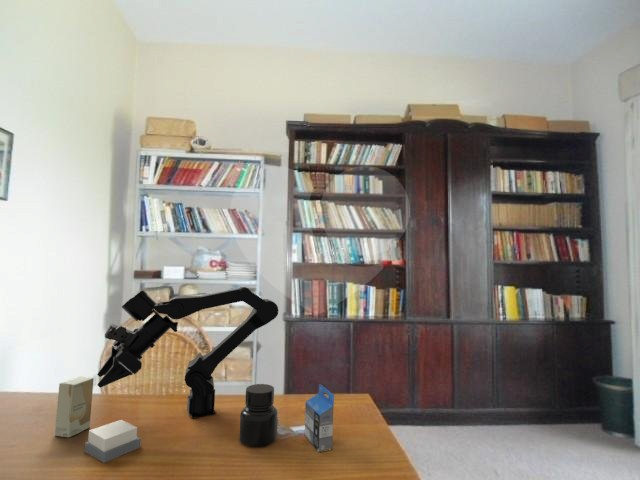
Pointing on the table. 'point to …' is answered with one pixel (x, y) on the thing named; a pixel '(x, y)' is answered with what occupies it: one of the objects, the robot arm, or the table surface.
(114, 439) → the tower top
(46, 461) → the table surface
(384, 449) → the table surface
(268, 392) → the ink bottle
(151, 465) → the table surface
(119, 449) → the tower bottom
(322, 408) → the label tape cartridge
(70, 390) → the skincare box
